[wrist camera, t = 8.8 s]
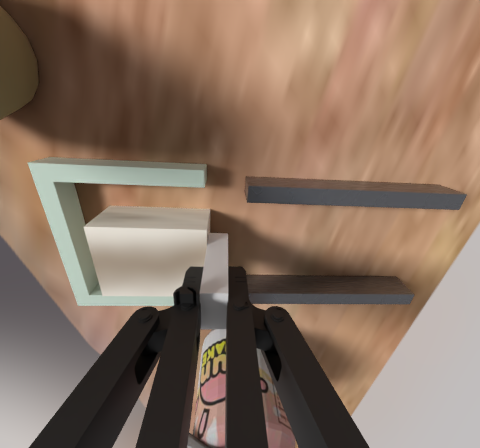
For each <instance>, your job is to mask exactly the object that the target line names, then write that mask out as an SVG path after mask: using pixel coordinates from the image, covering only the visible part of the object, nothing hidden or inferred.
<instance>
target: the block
mask: <svg viewBox="0 0 480 448" xmlns="http://www.w3.org/2000/svg"><path fill="white" fill-rule="evenodd" d="M84 231H85V234H86V238H87V242H88V245H89V249H90V252H91V256H92V260H93V263H94V267H95V270H96V274H97V278H98V281H99V285H100V288H101V292H102V296H172V297H173V293H174V291H175V290H176V289H177V288H179V287H181V286H182V284H183V280H184V277H185V273H186V271H187V270H188V268H189V267H190V266H193V267H204V261H205V255H206V248H207V242H208V235H209V233H210V209H197V208H168V207H139V206H109V207H107V208H106V209H105V210H104V211H102V212H101V213H100V214H99V215H97V216H96V217H95V218H94V219H92V220H91V221H90V222H89V223H87V224H86V225H85V226H84Z"/></svg>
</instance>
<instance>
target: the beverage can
mask: <svg viewBox="0 0 480 448" xmlns="http://www.w3.org/2000/svg"><path fill="white" fill-rule="evenodd" d="M257 356H258V364H259V372H260V381H261V389H262V397H263V406H264V414H265V422H266V430H267V439H268V447H269V448H295V437H294V434H293V431H292V429H291V426H290V424H289V421H288V419H287V416H286V414H285V411H284V409H283V406H282V403H281V401H280V398H279V396H278V393H277V391H276V388H275V386H274V383H273V381H272V378H271V376H270V373H269V370H268V368H267V365H266V363H265V360H264V358H263V355H262V353H261V350H260V349H257ZM225 395H226V329H212V330H211V332H210V333H209V334H208V335H207V336H206V338H205V340H204V343H203V346H202V355H201V364H200V374H199V383H198V392H197V402H196V411H195V420H194V430H193V435H192V434H190V433H189V437H188V445H187V448H225Z"/></svg>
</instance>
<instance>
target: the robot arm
mask: <svg viewBox="0 0 480 448" xmlns="http://www.w3.org/2000/svg"><path fill="white" fill-rule="evenodd" d="M173 298H174V306H172V307H170V308H168V309H165V310H161V311H158V310H157V309H156V308H154V307H143V308H140V309H139V310H137V311H136V312H135V313H134V314H133V315H132V316H131V317H130V318H129V320H128V321H127V322H126V324H125V325H124V326H123V327H122V329H121V330H120V331H119V333H118V334H117V335H116V336H115V338H114V339H113V340H112V342H111V343H110V344H109V345H108V347H107V348H106V349H105V351H104V352H103V353H102V354H101V356H100V357H99V358H98V360H97V361H96V362H95V363H94V365H93V366H92V367H91V369H90V370H89V371H88V372H87V374H86V375H85V376H84V378H83V379H82V380H81V381H80V383H79V384H78V385H77V387H76V388H75V389H74V390H73V392H72V393H71V394H70V396H69V397H68V398H67V399H66V401H65V402H64V403H63V405H62V406H61V407H60V408H59V410H58V411H57V412H56V413H55V415H54V416H53V417H52V419H51V420H50V421H49V422H48V424H47V425H46V426H45V428H44V429H43V430H42V431H41V433H40V434H39V435H38V437H37V438H36V439H35V441H34V442H33V443H32V444H31V446H30V447H29V448H112V447H113V445H114V443H115V441H116V439H117V437H118V435H119V434H120V432H121V430H122V428H123V426H124V424H125V422H126V420H127V418H128V416H129V415H130V413H131V411H132V409H133V407H134V405H135V403H136V401H137V400H138V398H139V396H140V394H141V392H142V390H143V388H144V386H145V384H146V382H147V381H148V379H149V377H150V375H151V373H152V371H153V369H154V367H155V365H156V364H157V362H158V360H159V358H160V360H159V363H158V367H157V371H156V374H155V378H154V382H153V385H152V389H151V393H150V397H149V400H148V404H147V408H146V411H145V415H144V419H143V422H142V426H141V430H140V434H139V437H138V441H137V444H136V448H187V445H188V437H189V429H190V420H191V412H192V403H193V395H194V386H195V378H196V369H197V361H198V352H199V344H200V328H201V329H226V395H225V448H269V447H268V439H267V430H266V422H265V414H264V406H263V397H262V389H261V381H260V372H259V364H258V356H257V349H260V350H261V353H262V355H263V358H264V360H265V363H266V365H267V368H268V370H269V373H270V376H271V378H272V381H273V383H274V386H275V388H276V391H277V393H278V396H279V398H280V401H281V403H282V406H283V409H284V411H285V414H286V416H287V419H288V421H289V424H290V426H291V429H292V431H293V434H294V437H295V439H296V442H297V444H298V447H299V448H369V446H368V444H367V443H366V441H365V439H364V438H363V436H362V435H361V433H360V431H359V429H358V428H357V426H356V424H355V423H354V421H353V419H352V418H351V416H350V414H349V413H348V411H347V409H346V408H345V406H344V404H343V403H342V401H341V399H340V398H339V396H338V394H337V393H336V391H335V389H334V388H333V386H332V384H331V383H330V381H329V379H328V378H327V376H326V374H325V373H324V371H323V369H322V368H321V366H320V364H319V363H318V361H317V359H316V358H315V356H314V355H313V353H312V351H311V350H310V348H309V346H308V345H307V343H306V341H305V340H304V338H303V336H302V335H301V333H300V331H299V330H298V328H297V326H296V325H295V323H294V321H293V320H292V318H291V316H290V315H289V313H288V312H287V311H286V310H285V309H283V308H281V307H278V306H272V307H270V308H268V309H267V310H262V309H259V308H256V307H255V306H253V305H252V304H251V302H250V300H249V294H248V285H247V276H246V271H245V270H244V268H243V267H228V233H209V235H208V242H207V248H206V255H205V261H204V267H193V266H190V267H189V268H188V270H187V271H186V273H185V277H184V280H183V284H182V286H181V287H179V288H177V289H176V290H175V291H174V293H173Z"/></svg>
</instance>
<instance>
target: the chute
mask: <svg viewBox="0 0 480 448" xmlns="http://www.w3.org/2000/svg"><path fill="white" fill-rule="evenodd" d="M245 195H246V200H247V202H249V203H278V204H307V205H336V206H364V207H393V208H422V209H451V210H459V209H460V207H461V205H462V203H463V201H464V199H465V198H466V196H467V194H464V193H461V192H458V191H455V190H452V189H449V188H447V187H444V186H441V185H435V184H411V183H388V182H364V181H341V180H317V179H294V178H271V177H247V176H246V179H245ZM246 276H247V285H248V294H249V300H250V302H251V304H410V303H411V301H412V299H413V297H414V295H415V294H414V293H413V292H412V291H411V290H410V289H408V288H407V287H406V286H405V285H404V284H403V283H402V282H401V281H400V280H399V279H398V278H397V277H379V276H298V275H246Z"/></svg>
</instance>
